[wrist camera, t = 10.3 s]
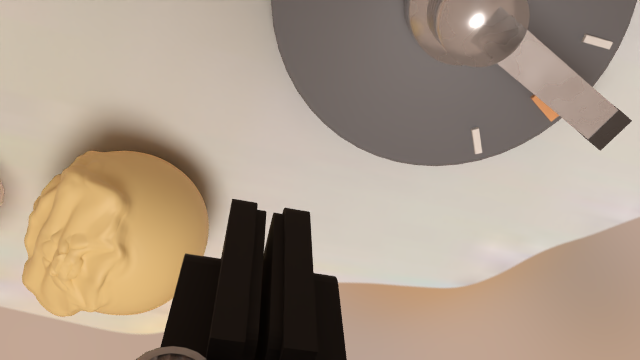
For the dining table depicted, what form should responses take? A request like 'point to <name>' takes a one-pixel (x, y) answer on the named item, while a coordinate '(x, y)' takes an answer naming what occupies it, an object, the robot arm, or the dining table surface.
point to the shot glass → (1, 193)
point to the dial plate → (431, 76)
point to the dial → (512, 57)
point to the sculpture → (113, 234)
